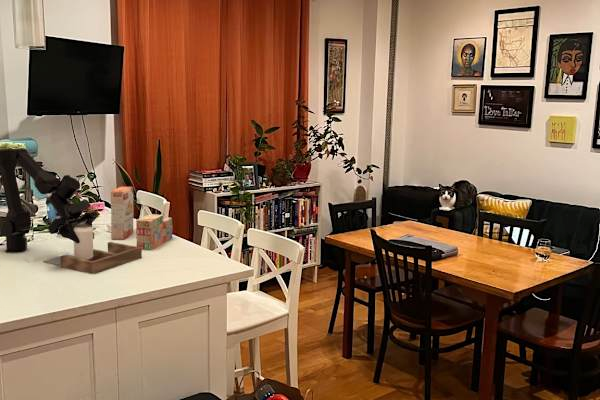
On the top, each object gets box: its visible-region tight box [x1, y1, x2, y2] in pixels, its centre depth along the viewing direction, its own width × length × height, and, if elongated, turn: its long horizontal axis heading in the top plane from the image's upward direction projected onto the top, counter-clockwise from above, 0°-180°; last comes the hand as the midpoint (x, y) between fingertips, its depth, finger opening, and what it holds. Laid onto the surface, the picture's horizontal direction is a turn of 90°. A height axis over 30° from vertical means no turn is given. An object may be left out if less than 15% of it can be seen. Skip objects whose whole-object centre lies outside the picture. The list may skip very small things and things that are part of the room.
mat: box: [42, 253, 74, 267], centre depth 215 cm, size 10×11×1 cm
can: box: [73, 223, 94, 260], centre depth 209 cm, size 6×6×12 cm
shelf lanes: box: [60, 241, 143, 275], centre depth 214 cm, size 16×24×4 cm, turn 154°
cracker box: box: [110, 186, 134, 240], centre depth 253 cm, size 14×6×21 cm, turn 179°
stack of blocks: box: [135, 213, 173, 251], centre depth 243 cm, size 21×6×12 cm, turn 169°
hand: (86, 240), depth 209 cm, fingers closed on can, 6 cm apart
